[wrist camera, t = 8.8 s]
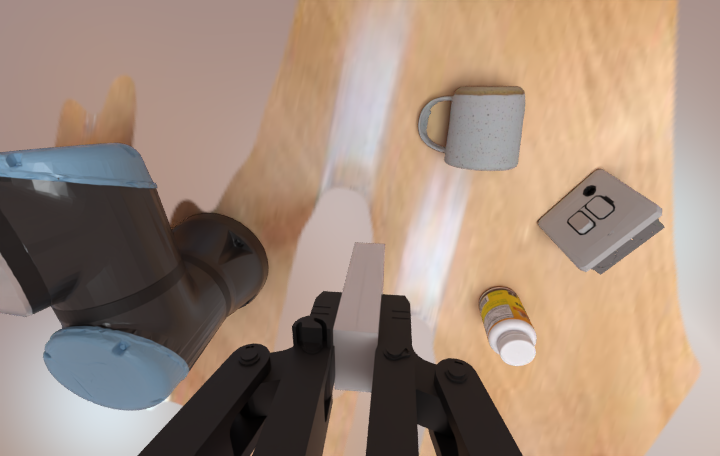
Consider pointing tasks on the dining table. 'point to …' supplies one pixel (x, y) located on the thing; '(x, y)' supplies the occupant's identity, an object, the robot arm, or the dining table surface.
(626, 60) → the dining table surface
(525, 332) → the supplement bottle
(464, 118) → the ceramic mug
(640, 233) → the electrical switch
